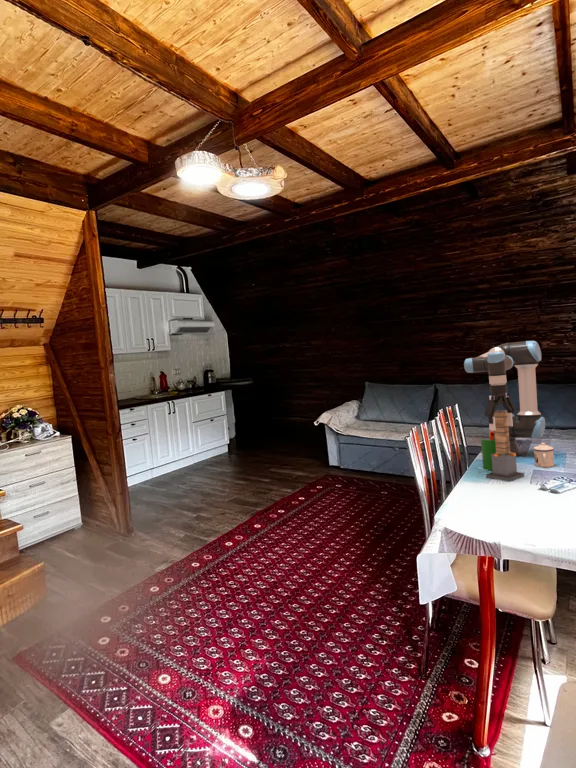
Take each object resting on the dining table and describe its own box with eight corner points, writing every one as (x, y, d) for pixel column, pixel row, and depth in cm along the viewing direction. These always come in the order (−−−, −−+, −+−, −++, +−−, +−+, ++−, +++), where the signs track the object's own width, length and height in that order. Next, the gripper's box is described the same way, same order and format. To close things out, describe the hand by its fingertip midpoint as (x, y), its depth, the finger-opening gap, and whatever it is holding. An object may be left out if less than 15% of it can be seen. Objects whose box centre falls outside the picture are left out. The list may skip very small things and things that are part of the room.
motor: (501, 466, 231) (498, 428, 230) (507, 470, 222) (504, 431, 221) (481, 467, 232) (478, 430, 231) (487, 471, 223) (484, 432, 222)
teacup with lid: (534, 463, 230) (532, 441, 230) (554, 463, 226) (552, 441, 226) (534, 468, 220) (533, 445, 219) (555, 469, 215) (554, 445, 215)
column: (502, 455, 214) (498, 409, 213) (510, 457, 210) (507, 410, 209) (496, 457, 211) (492, 411, 210) (505, 458, 207) (501, 411, 206)
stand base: (501, 472, 219) (499, 448, 219) (524, 476, 209) (522, 451, 208) (486, 477, 213) (484, 452, 212) (509, 481, 203) (507, 455, 202)
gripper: (506, 382, 219) (509, 423, 219) (474, 387, 206) (478, 431, 207) (520, 381, 212) (524, 424, 213) (488, 386, 200) (492, 432, 200)
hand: (501, 428), depth 210 cm, fingers open, 13 cm apart
